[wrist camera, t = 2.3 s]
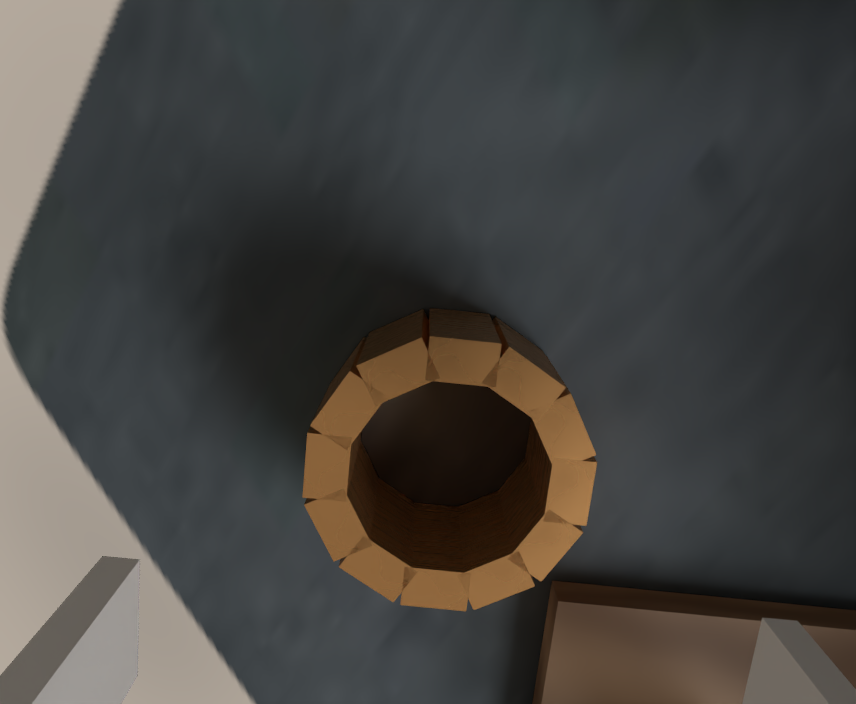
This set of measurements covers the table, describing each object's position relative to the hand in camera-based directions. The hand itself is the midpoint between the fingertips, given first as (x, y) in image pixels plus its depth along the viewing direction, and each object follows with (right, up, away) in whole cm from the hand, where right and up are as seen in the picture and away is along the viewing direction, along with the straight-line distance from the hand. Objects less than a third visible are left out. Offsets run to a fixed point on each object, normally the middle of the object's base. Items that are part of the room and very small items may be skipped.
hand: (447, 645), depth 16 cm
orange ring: (0, +3, +13) cm, 13 cm away
